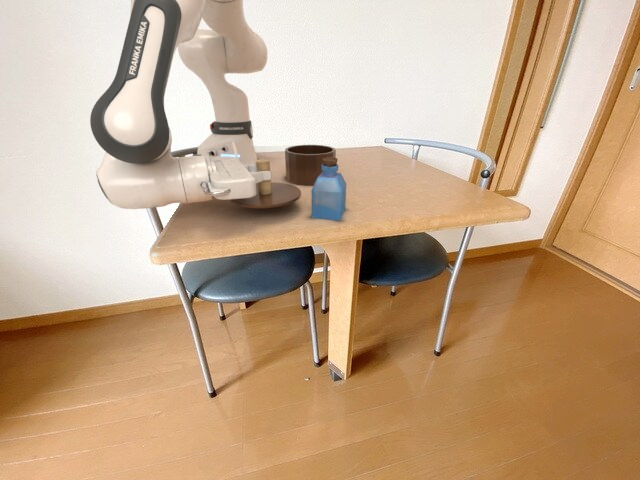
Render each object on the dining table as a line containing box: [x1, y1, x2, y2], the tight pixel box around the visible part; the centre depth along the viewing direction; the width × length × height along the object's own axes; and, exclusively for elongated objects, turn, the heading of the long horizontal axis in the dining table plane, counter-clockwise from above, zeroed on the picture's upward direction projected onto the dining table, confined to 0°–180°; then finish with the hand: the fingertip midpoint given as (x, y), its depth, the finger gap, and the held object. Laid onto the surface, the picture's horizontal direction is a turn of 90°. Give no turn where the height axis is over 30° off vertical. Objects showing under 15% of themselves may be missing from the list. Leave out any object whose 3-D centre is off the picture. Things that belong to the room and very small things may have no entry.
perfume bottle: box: [311, 157, 347, 222], centre depth 63 cm, size 6×6×12 cm
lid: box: [228, 158, 302, 209], centre depth 64 cm, size 16×16×8 cm
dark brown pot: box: [284, 144, 337, 186], centre depth 88 cm, size 15×15×8 cm
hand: (267, 172), depth 64 cm, fingers closed on lid, 3 cm apart
